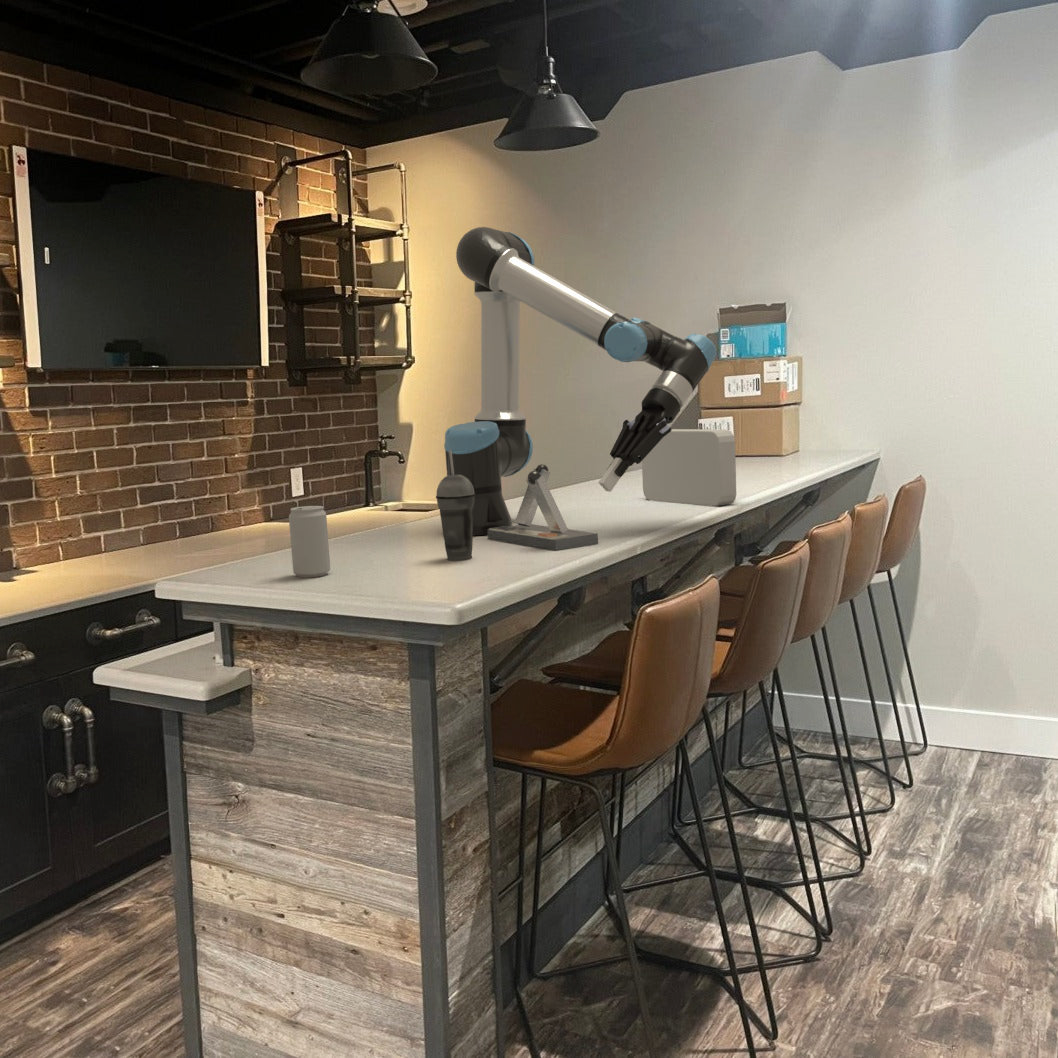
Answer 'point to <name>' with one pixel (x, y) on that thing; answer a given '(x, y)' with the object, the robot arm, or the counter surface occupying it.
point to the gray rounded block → (692, 468)
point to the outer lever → (546, 502)
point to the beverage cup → (456, 514)
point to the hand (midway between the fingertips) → (604, 487)
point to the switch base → (542, 537)
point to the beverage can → (309, 541)
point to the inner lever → (530, 501)
